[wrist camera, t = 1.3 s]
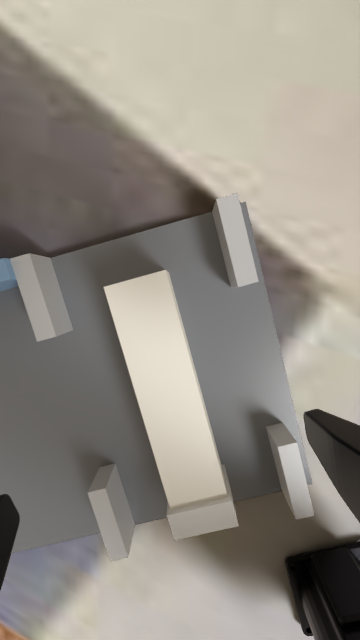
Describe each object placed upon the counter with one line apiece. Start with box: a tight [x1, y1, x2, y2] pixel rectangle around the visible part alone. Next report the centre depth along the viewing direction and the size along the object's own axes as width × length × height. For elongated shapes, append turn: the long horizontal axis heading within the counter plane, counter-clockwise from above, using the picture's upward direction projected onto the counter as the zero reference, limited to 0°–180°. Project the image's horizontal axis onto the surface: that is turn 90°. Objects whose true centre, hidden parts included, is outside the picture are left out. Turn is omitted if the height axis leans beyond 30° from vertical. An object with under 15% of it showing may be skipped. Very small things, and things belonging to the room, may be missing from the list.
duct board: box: [0, 193, 315, 561], centre depth 18 cm, size 20×27×4 cm
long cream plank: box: [104, 270, 239, 541], centre depth 17 cm, size 16×4×3 cm, turn 15°
